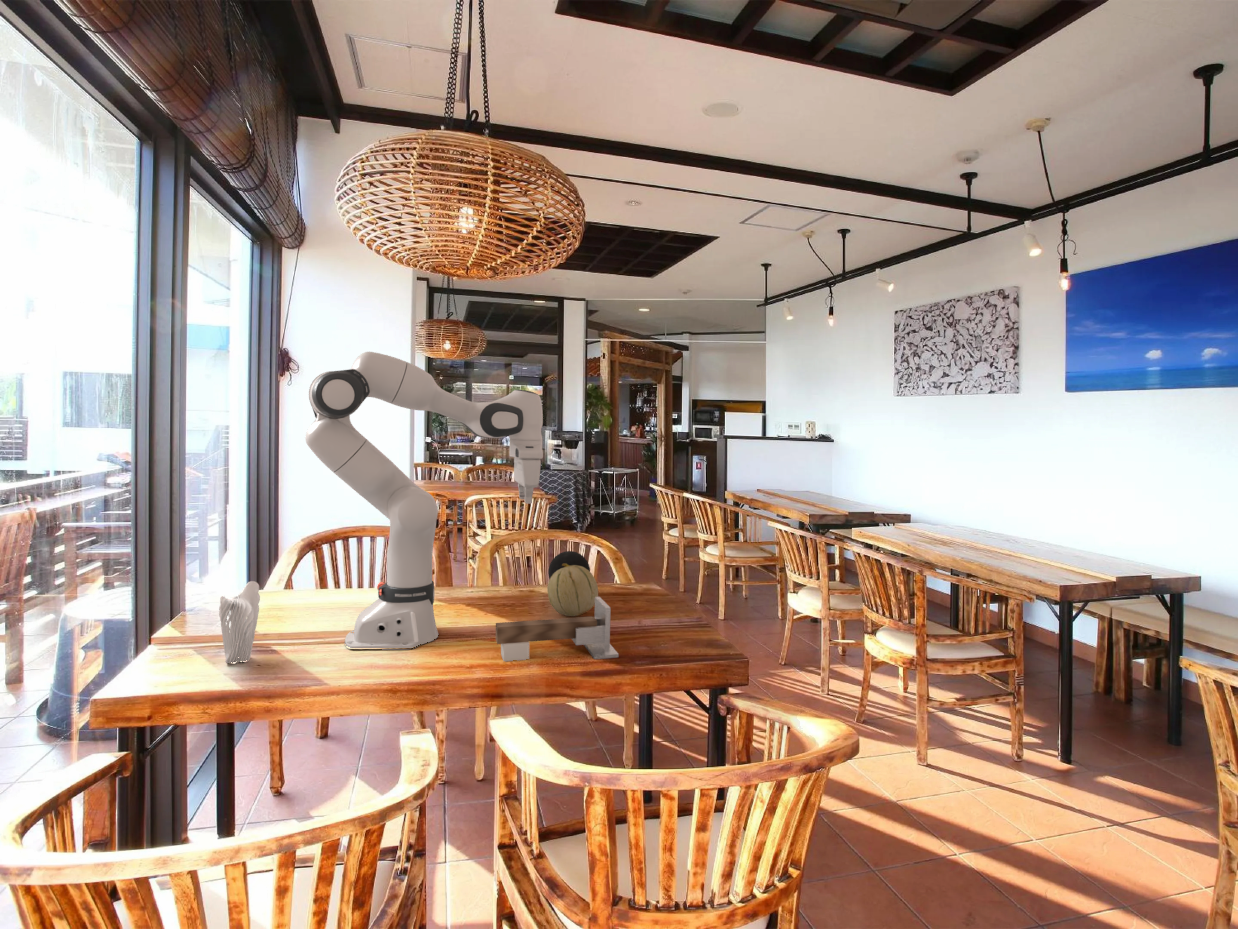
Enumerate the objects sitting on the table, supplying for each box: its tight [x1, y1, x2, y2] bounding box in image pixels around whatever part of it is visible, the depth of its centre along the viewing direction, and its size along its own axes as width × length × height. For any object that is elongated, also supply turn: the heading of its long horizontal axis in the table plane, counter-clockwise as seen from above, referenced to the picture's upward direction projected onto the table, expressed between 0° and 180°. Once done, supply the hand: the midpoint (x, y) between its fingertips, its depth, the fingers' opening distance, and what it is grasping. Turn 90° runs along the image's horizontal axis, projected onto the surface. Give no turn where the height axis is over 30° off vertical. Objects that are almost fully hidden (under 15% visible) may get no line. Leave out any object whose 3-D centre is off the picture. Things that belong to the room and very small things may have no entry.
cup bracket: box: [571, 596, 619, 660], centre depth 166 cm, size 10×12×12 cm
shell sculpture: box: [218, 580, 261, 664], centre depth 153 cm, size 8×8×18 cm
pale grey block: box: [500, 642, 530, 662], centre depth 161 cm, size 6×5×4 cm
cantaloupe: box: [547, 563, 599, 617], centre depth 195 cm, size 15×15×15 cm
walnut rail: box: [495, 616, 597, 645], centre depth 163 cm, size 24×4×4 cm, turn 107°
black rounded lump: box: [547, 550, 591, 580], centre depth 213 cm, size 13×13×15 cm
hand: (525, 501), depth 184 cm, fingers open, 8 cm apart
